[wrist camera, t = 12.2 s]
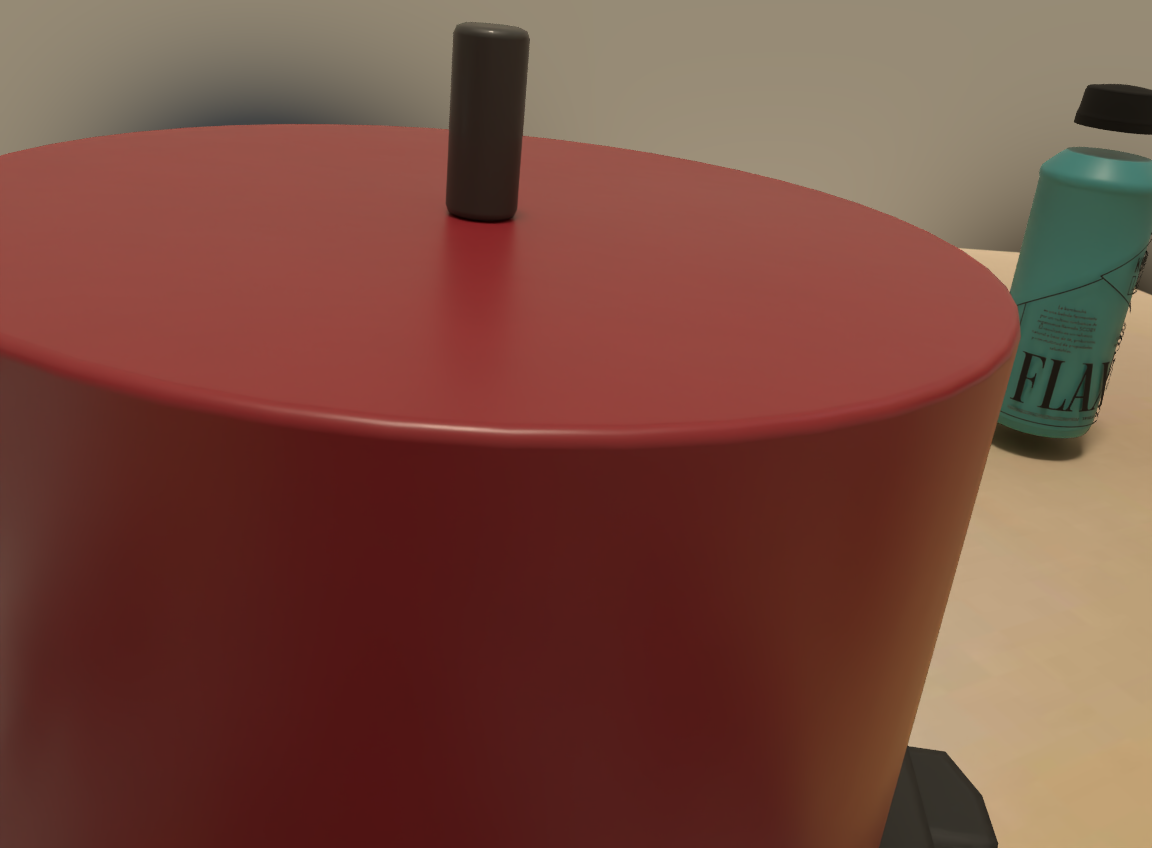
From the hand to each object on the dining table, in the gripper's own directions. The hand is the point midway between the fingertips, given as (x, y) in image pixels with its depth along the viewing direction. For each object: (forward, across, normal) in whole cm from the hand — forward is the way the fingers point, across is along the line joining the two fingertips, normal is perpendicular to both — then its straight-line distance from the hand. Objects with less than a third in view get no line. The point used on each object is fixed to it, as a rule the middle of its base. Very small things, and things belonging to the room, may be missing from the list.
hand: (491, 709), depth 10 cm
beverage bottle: (+52, -24, +17) cm, 59 cm away
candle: (-2, 0, +8) cm, 8 cm away
